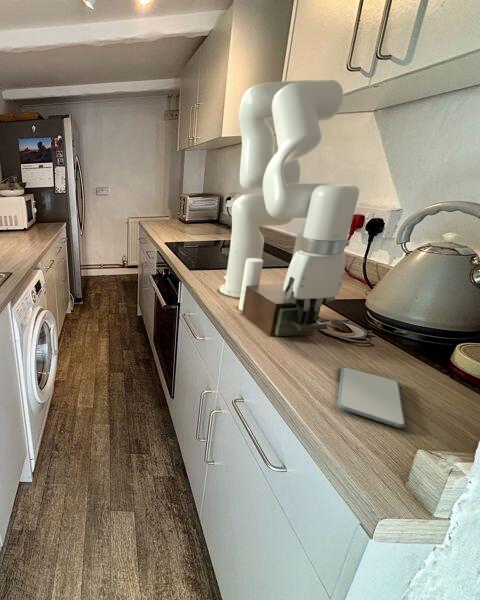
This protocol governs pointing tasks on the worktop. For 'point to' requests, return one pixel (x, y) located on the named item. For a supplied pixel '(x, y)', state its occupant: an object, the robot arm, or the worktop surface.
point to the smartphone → (371, 397)
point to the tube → (250, 276)
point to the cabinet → (264, 305)
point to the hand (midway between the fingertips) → (303, 324)
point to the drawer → (295, 323)
